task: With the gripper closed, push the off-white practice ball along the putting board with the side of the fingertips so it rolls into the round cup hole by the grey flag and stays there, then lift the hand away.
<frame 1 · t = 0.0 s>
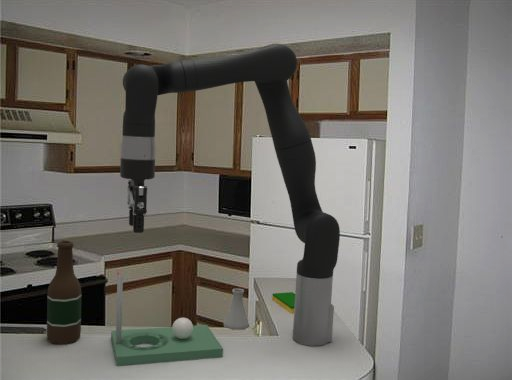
hand: (136, 228, 126), 29 cm above the counter, fingers open, 8 cm apart
practice ball: (182, 328, 135), point 4 cm above the counter, touching putting board
beer bottle: (63, 339, 136), on the counter
dish sponge: (291, 307, 172), on the counter
flask: (236, 326, 151), on the counter
putting board: (165, 347, 134), on the counter
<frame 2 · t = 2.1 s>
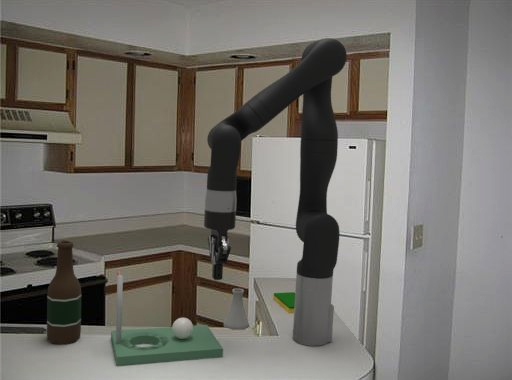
hand: (217, 278, 136), 16 cm above the counter, fingers closed
nothing on the counter moved.
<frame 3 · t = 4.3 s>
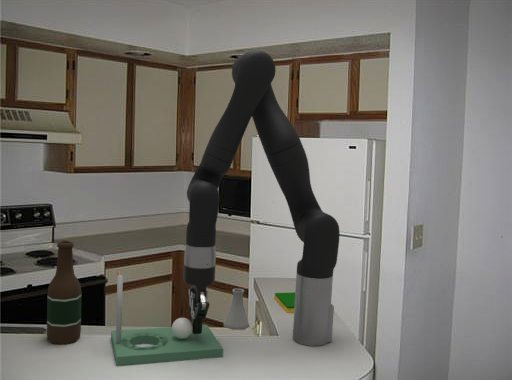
hand: (196, 332, 136), 3 cm above the counter, fingers closed
practice ball: (182, 328, 135), point 4 cm above the counter, touching gripper, putting board
everything else where it was.
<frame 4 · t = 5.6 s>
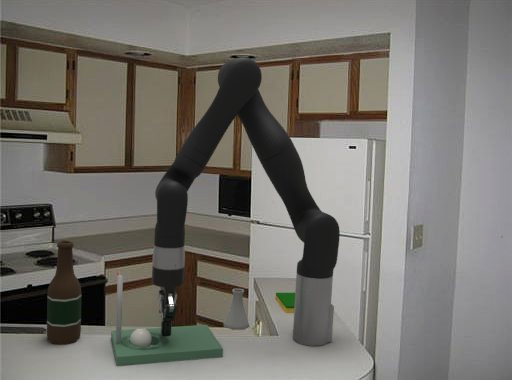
hand: (165, 335, 134), 3 cm above the counter, fingers closed
practice ball: (140, 339, 132), point 2 cm above the counter, tilted 139°
everything else where it was.
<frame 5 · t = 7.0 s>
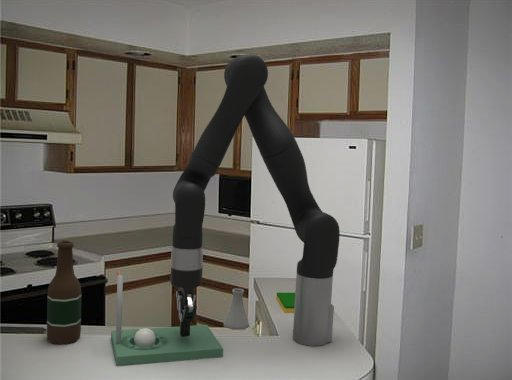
hand: (184, 335, 135), 3 cm above the counter, fingers closed
practice ball: (144, 339, 132), point 2 cm above the counter, tilted 160°
everything else where it was.
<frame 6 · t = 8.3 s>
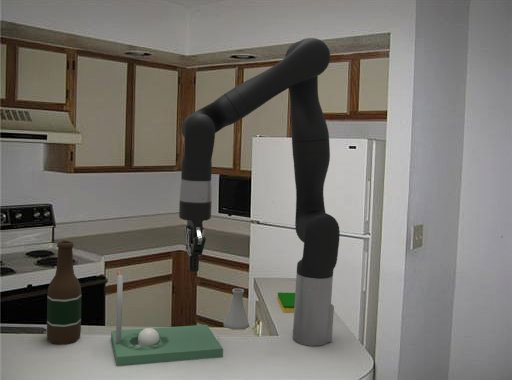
hand: (193, 270, 134), 19 cm above the counter, fingers closed
practice ball: (148, 338, 132), point 2 cm above the counter, tilted 179°
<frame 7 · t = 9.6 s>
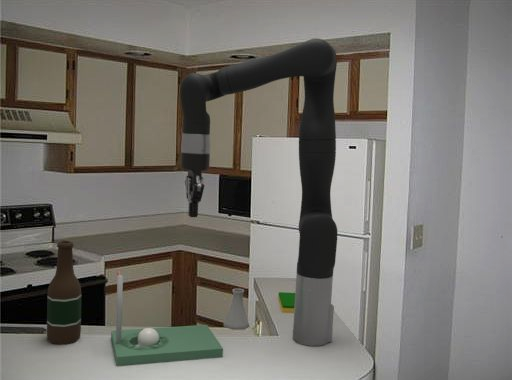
hand: (192, 216, 149), 29 cm above the counter, fingers closed
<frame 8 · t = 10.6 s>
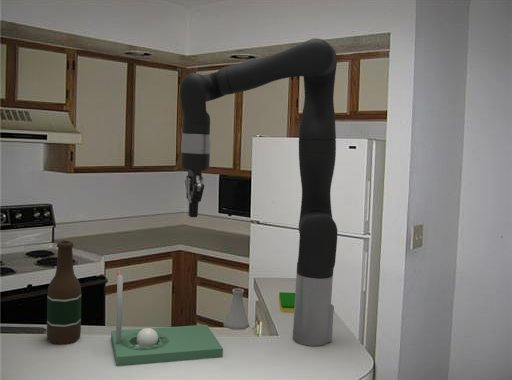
hand: (192, 216, 149), 29 cm above the counter, fingers closed
at the end: practice ball 0.6 cm from the target spot on the putting board, point 2.5 cm above the putting board's base; practice ball moved 8.6 cm from its start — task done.
